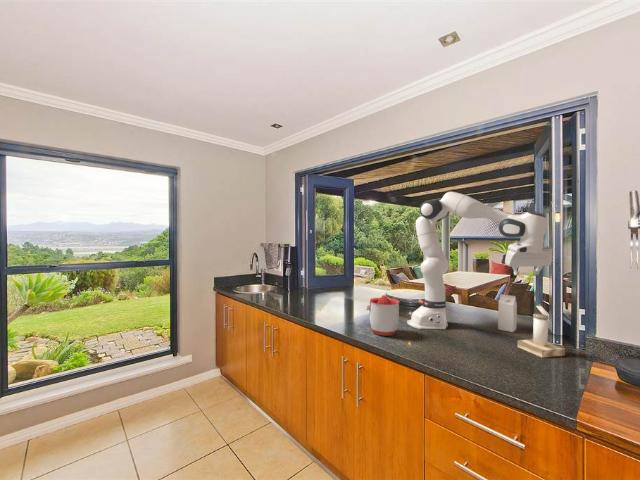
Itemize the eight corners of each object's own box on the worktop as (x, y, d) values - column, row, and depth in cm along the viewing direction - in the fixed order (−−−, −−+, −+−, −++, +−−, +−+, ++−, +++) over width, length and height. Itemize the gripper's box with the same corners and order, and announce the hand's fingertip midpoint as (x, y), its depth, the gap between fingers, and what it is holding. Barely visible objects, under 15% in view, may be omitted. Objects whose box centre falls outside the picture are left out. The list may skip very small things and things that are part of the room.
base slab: (542, 357, 123) (542, 350, 123) (517, 346, 134) (517, 340, 134) (564, 355, 125) (565, 348, 125) (538, 345, 137) (538, 338, 137)
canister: (540, 347, 126) (541, 317, 126) (529, 342, 132) (529, 314, 132) (551, 346, 128) (552, 316, 127) (539, 341, 133) (540, 313, 133)
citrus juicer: (366, 326, 162) (366, 291, 162) (398, 329, 159) (398, 292, 159) (364, 336, 147) (365, 297, 147) (400, 339, 144) (400, 298, 143)
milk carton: (501, 326, 164) (502, 293, 164) (516, 329, 159) (517, 295, 159) (498, 329, 159) (498, 295, 159) (513, 332, 154) (513, 297, 154)
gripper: (547, 244, 138) (542, 271, 141) (505, 245, 137) (501, 272, 141) (558, 248, 132) (552, 276, 135) (514, 249, 131) (509, 277, 135)
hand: (526, 274), depth 138 cm, fingers open, 8 cm apart
